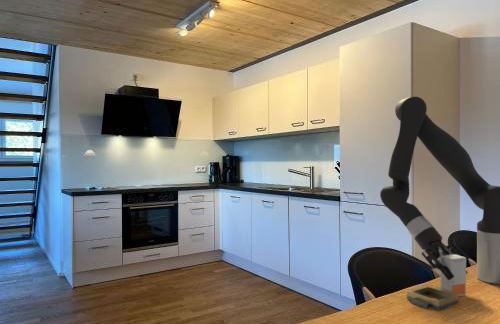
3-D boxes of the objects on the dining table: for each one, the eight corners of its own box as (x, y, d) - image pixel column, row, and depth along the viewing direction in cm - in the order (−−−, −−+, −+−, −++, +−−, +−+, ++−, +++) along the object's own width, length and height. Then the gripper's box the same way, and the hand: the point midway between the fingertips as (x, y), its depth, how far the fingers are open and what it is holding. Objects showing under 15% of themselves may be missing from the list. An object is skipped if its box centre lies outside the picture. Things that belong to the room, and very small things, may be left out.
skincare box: (450, 297, 111) (450, 258, 111) (440, 292, 116) (440, 255, 115) (466, 295, 113) (466, 257, 113) (455, 290, 117) (455, 253, 117)
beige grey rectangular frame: (429, 292, 116) (429, 284, 116) (461, 302, 108) (461, 294, 108) (404, 300, 110) (403, 292, 110) (435, 312, 101) (435, 303, 101)
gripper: (417, 228, 117) (453, 274, 107) (443, 224, 124) (479, 266, 114) (403, 241, 122) (436, 286, 111) (429, 236, 129) (462, 278, 119)
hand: (458, 276), depth 113 cm, fingers closed on skincare box, 6 cm apart
